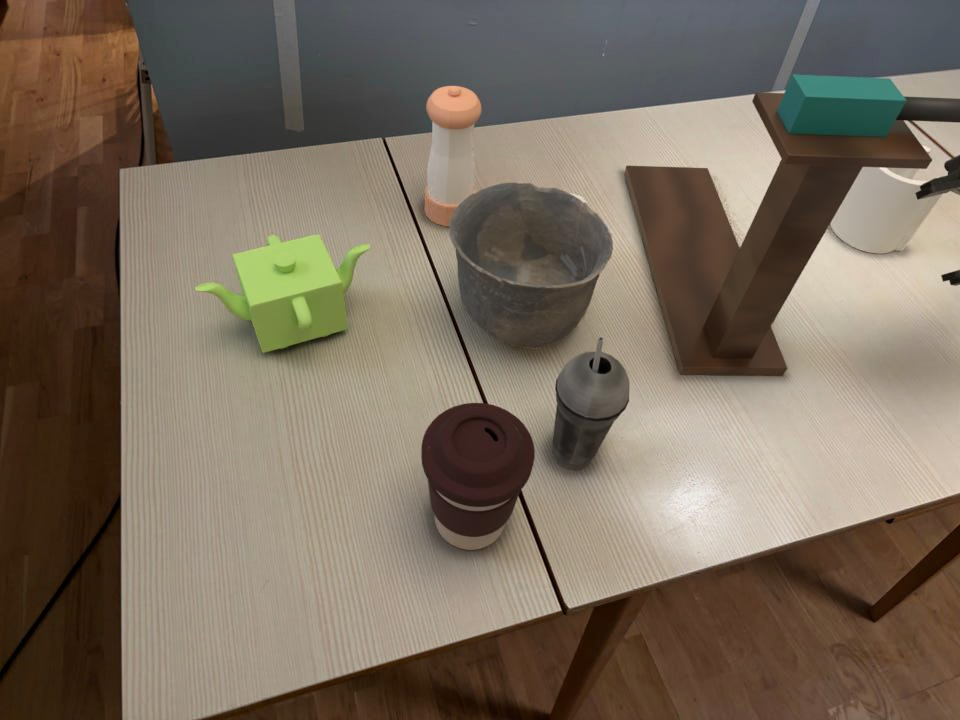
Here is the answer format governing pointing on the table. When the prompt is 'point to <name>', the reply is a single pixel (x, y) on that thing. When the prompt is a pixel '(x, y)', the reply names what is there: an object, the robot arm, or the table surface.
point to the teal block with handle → (855, 106)
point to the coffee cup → (475, 471)
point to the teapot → (290, 290)
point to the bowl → (528, 261)
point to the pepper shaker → (450, 151)
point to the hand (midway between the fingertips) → (935, 235)
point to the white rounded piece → (882, 209)
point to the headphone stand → (748, 240)
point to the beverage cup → (587, 405)
